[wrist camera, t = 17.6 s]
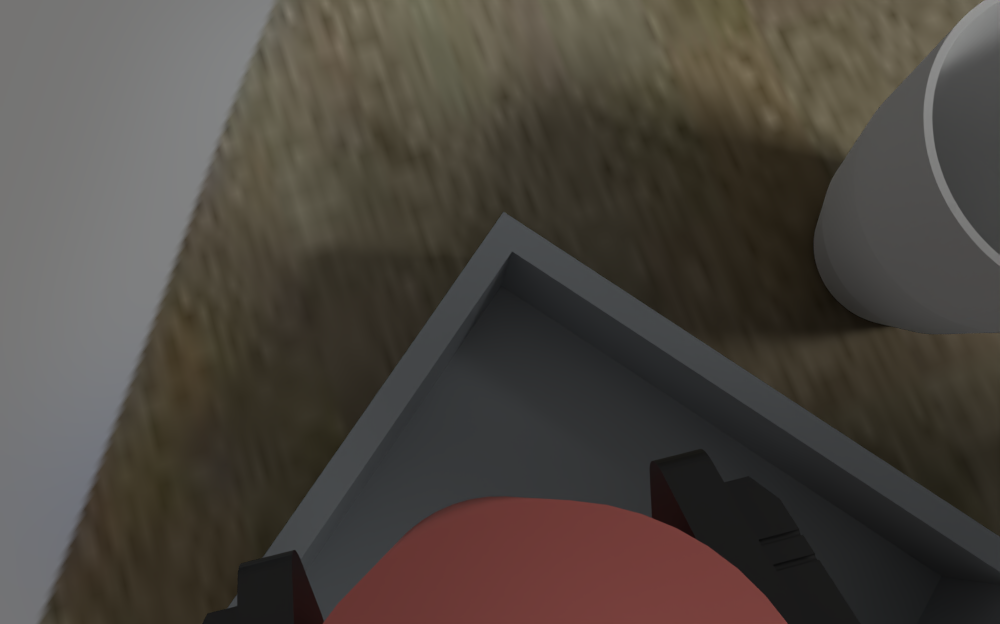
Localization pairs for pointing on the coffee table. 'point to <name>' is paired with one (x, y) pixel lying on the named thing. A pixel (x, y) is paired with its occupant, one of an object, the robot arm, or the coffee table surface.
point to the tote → (616, 440)
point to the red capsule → (550, 571)
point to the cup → (924, 195)
